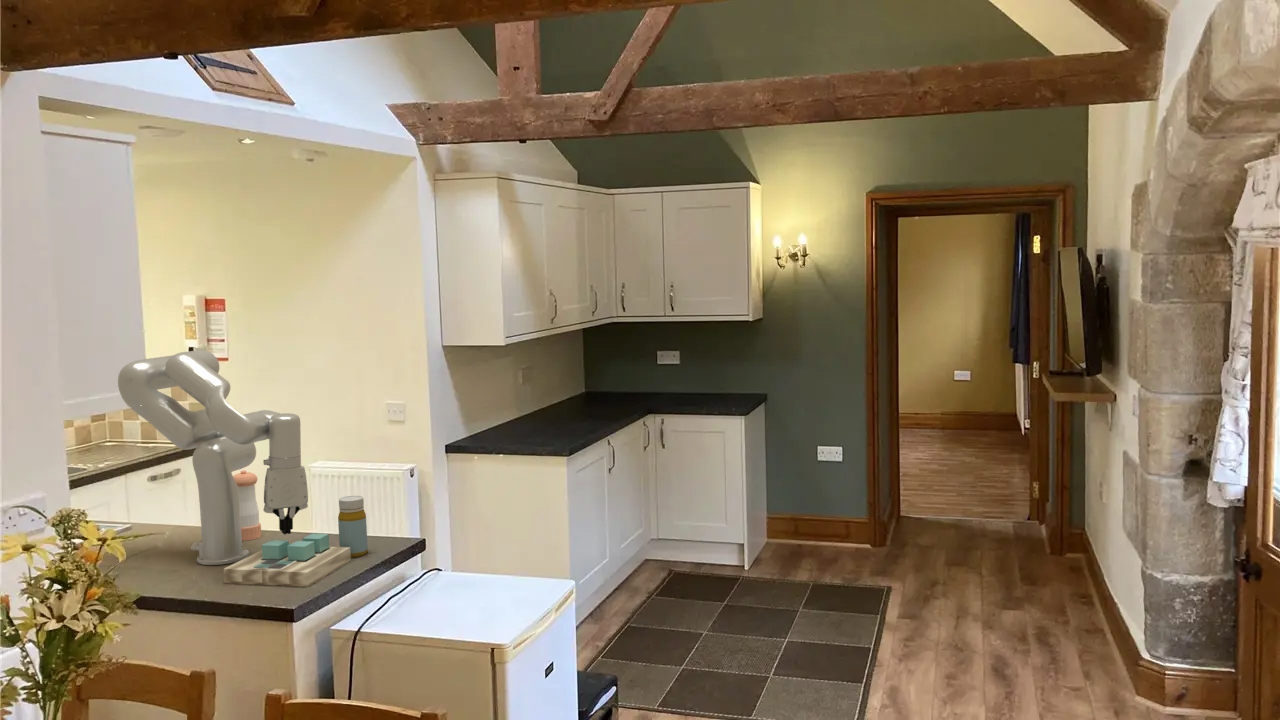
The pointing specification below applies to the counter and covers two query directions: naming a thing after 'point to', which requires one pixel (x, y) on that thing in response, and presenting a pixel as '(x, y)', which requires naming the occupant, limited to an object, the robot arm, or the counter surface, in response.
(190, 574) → the counter surface
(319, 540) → the button
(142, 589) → the counter surface
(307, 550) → the button
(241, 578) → the button board
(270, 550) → the button
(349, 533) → the bottle
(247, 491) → the salt shaker
